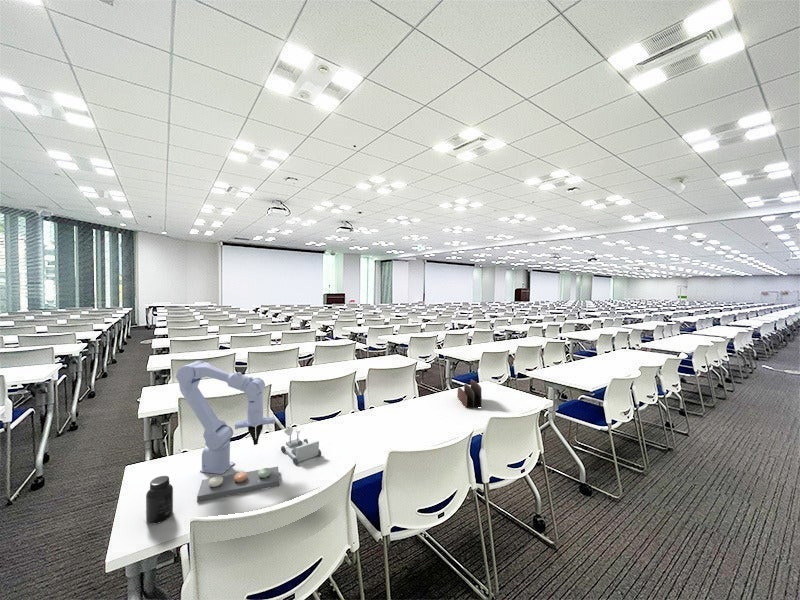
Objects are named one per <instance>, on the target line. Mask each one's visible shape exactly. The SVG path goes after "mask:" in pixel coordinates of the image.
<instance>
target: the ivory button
mask: <svg viewBox="0 0 800 600" xmlns="http://www.w3.org/2000/svg"><path fill="white" fill-rule="evenodd" d="M221 476H222V475H221ZM221 476H220V475H219V476H218V475H217V476H213V477H211V478H212V479H210V478H209V479H210V480H209V486H210V487H213V488H215V487H219V485H221V484H222V483H223V477H221Z"/></svg>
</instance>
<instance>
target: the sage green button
mask: <svg viewBox="0 0 800 600" xmlns="http://www.w3.org/2000/svg"><path fill="white" fill-rule="evenodd" d="M270 468H271V467H263V468H261V469H258V470H259V472H258V476H259V477H260V478H262V479H263V478H267V477H268V476H270V475H271V469H270Z"/></svg>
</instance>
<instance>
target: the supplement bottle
mask: <svg viewBox="0 0 800 600" xmlns="http://www.w3.org/2000/svg"><path fill="white" fill-rule="evenodd" d="M173 513H174V486H173V485H172V483H171V484H170V477H169V476H168V475H161V476H160V475H159V476H157V477H155V478H153V479H151V481H150V483H149V489H148V491H147V492H146V495H145V519H146V520H145V521H146V522H147V523H148V524H150V523H156V524H160V523H162V521H163V522H165V521H166V520H168V519H169V518H170V517H172V515H173ZM167 518H168V519H167ZM164 520H165V521H164ZM159 522H160V523H159Z"/></svg>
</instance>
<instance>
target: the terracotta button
mask: <svg viewBox="0 0 800 600" xmlns="http://www.w3.org/2000/svg"><path fill="white" fill-rule="evenodd" d="M246 472H247V471H240V472H238V473H235V474H236V475H235V476H234V481H235V482H238V483H242V482H244V481H245V480H246V479H247V478H248V474H247V473H246Z"/></svg>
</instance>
